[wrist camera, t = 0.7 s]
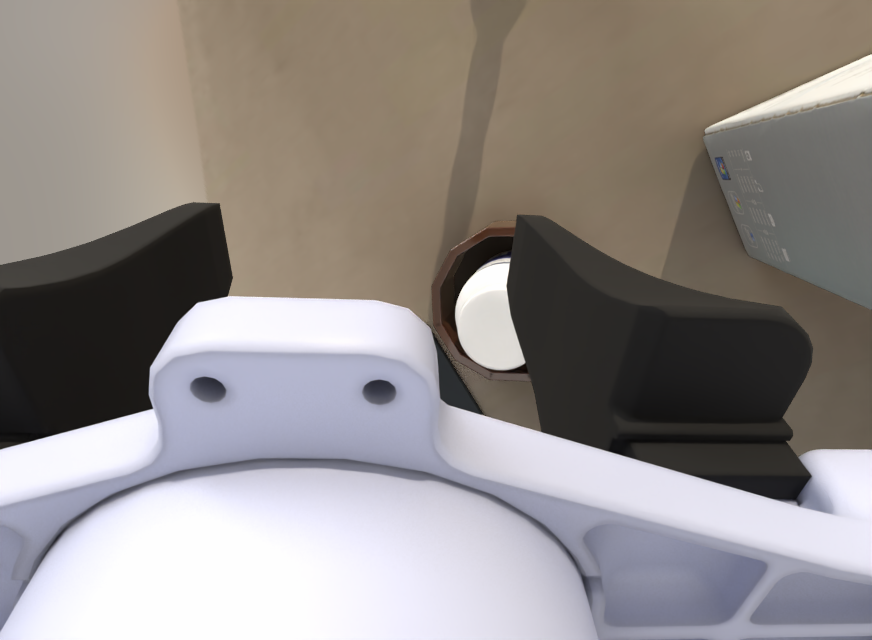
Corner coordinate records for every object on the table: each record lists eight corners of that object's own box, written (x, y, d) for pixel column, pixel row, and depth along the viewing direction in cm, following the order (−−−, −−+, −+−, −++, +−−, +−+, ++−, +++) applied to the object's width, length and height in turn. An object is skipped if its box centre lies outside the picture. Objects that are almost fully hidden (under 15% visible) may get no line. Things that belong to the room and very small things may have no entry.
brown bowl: (615, 317, 32) (621, 336, 29) (491, 380, 35) (482, 405, 31) (542, 192, 31) (538, 194, 28) (421, 266, 34) (403, 278, 31)
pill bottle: (557, 335, 33) (554, 389, 25) (472, 331, 35) (443, 381, 26) (561, 249, 32) (560, 276, 24) (473, 247, 33) (442, 272, 25)
